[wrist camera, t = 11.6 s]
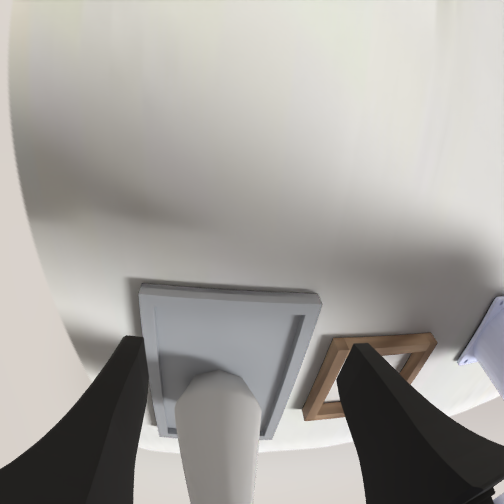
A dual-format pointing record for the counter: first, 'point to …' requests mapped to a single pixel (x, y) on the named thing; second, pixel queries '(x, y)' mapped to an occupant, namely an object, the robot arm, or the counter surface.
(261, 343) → the grey tray
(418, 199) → the counter surface
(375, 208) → the counter surface
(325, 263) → the counter surface
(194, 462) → the salt shaker
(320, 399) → the walnut collar
